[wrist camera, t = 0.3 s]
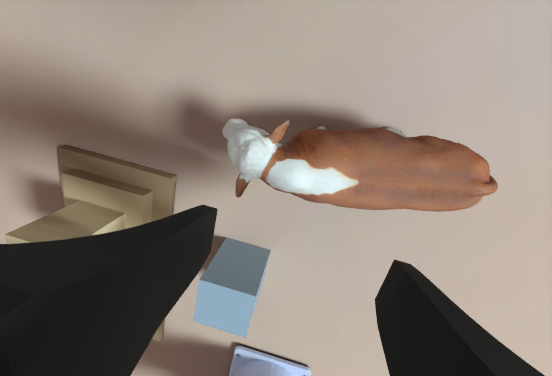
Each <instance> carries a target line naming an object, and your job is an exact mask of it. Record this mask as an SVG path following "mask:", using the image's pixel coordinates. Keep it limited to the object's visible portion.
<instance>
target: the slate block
mask: <svg viewBox="0 0 552 376" xmlns="http://www.w3.org/2000/svg"><path fill="white" fill-rule="evenodd" d="M270 251H271V250H268V249H264V248H261V247H258V246H254V245H251V244H247V243H244V242H240V241H237V240H233V239H230V238H226V239H225V241H224V242H223V244H222V245H221V247H220V248H219V250H218V252H217V253H216V255H215V256H214V258H213V259H212V261H211V262H210V264H209V265H208V267H207V269H206V270H205V272H204V273H203V275H202V276H201V278H200V279H199V286H198V294H197V301H196V308H195V315H194V322H197V323H200V324H203V325H206V326H210V327H213V328H216V329H219V330H222V331H226V332H229V333H232V334H235V335H238V336H241V337H245V338H246V335H247V331H248V328H249V325H250V322H251V318H252V315H253V312H254V309H255V305H256V302H257V299H258V295H259V292H260V289H261V286H262V282H263V278H264V274H265V270H266V266H267V262H268V258H269V255H270Z"/></svg>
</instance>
